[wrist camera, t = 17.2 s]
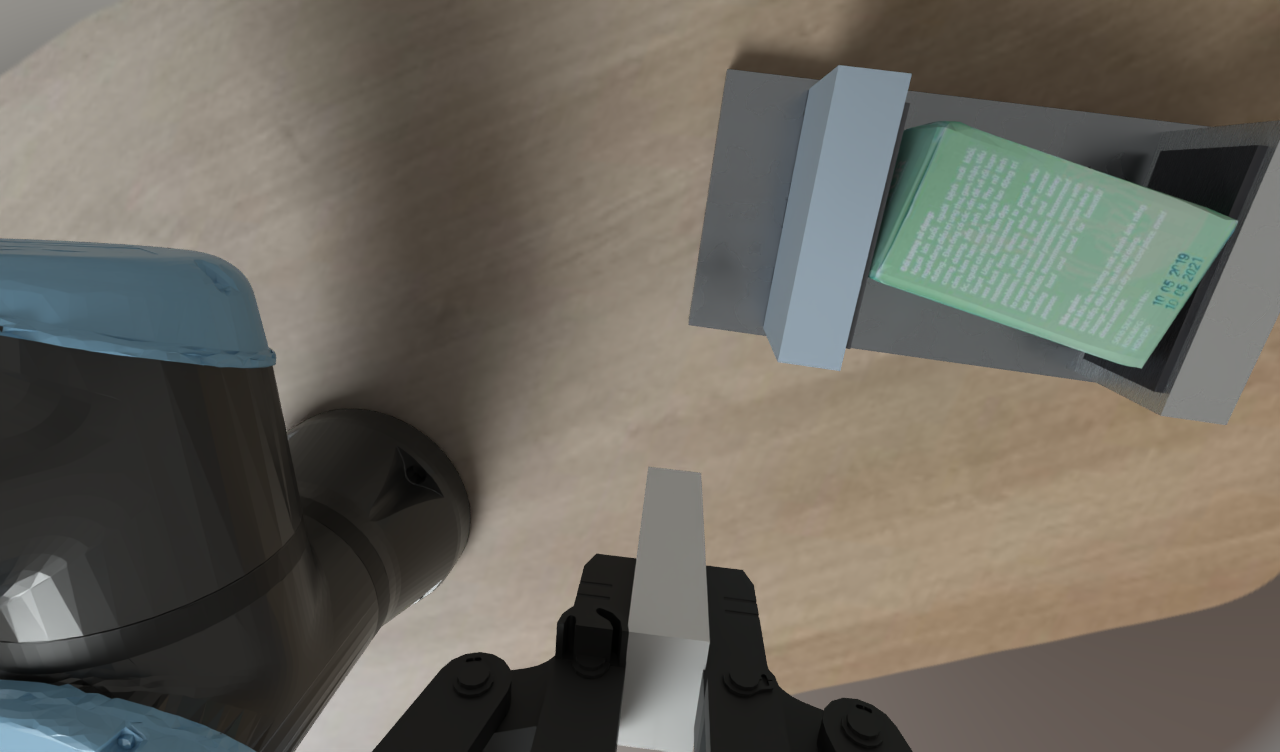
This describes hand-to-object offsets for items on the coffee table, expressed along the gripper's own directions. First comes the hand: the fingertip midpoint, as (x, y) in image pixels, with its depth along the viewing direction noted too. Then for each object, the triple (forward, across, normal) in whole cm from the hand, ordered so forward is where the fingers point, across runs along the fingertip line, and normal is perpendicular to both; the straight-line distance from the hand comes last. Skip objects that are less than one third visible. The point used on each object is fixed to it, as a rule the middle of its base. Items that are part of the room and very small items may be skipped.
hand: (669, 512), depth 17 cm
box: (+20, +16, +8) cm, 27 cm away
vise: (+22, +14, +7) cm, 27 cm away
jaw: (+20, +7, +8) cm, 22 cm away
